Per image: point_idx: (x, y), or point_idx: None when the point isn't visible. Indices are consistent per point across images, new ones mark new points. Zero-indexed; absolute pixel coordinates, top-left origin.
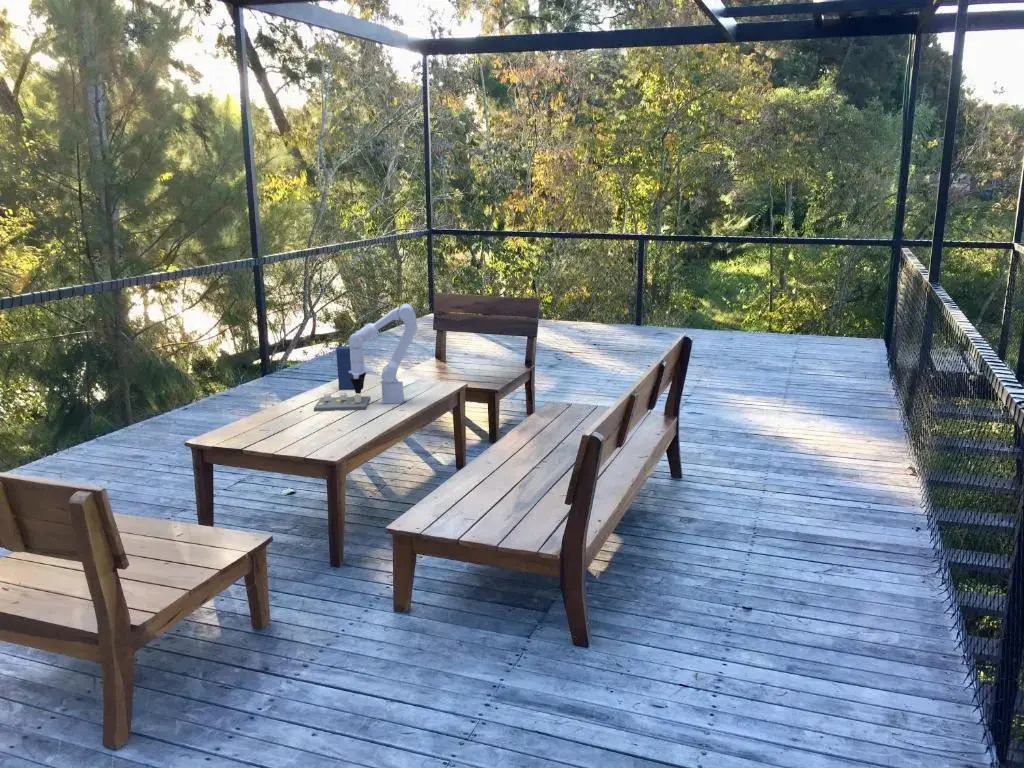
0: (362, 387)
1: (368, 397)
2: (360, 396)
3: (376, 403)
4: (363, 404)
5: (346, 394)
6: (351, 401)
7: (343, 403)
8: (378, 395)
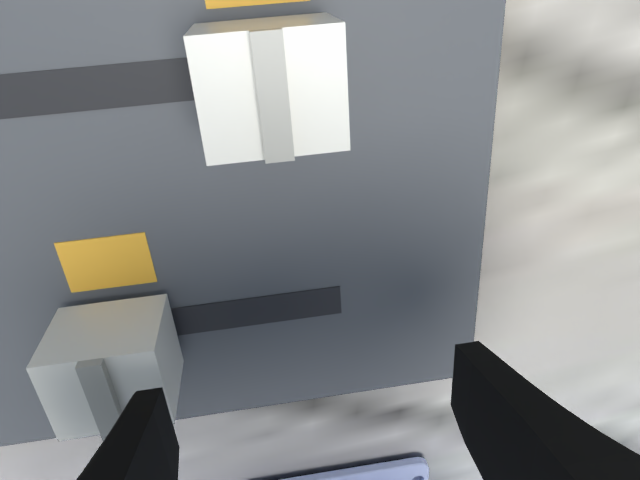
0: (463, 428)
1: (404, 373)
2: (93, 435)
3: (266, 441)
4: (26, 413)
5: (312, 147)
6: (181, 223)
7: (27, 126)
8: (616, 373)
